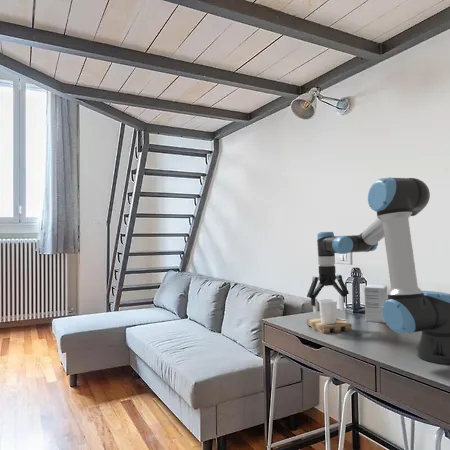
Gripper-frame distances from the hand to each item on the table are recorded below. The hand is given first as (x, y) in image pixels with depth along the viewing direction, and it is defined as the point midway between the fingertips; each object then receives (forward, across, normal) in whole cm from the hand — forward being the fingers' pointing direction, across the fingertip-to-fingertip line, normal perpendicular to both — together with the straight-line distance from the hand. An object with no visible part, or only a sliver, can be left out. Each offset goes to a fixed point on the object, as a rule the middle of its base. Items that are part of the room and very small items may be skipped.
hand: (328, 311), depth 188 cm
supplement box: (+8, -30, -6) cm, 32 cm away
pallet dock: (+8, -1, -2) cm, 8 cm away
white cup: (+5, 0, 0) cm, 5 cm away
